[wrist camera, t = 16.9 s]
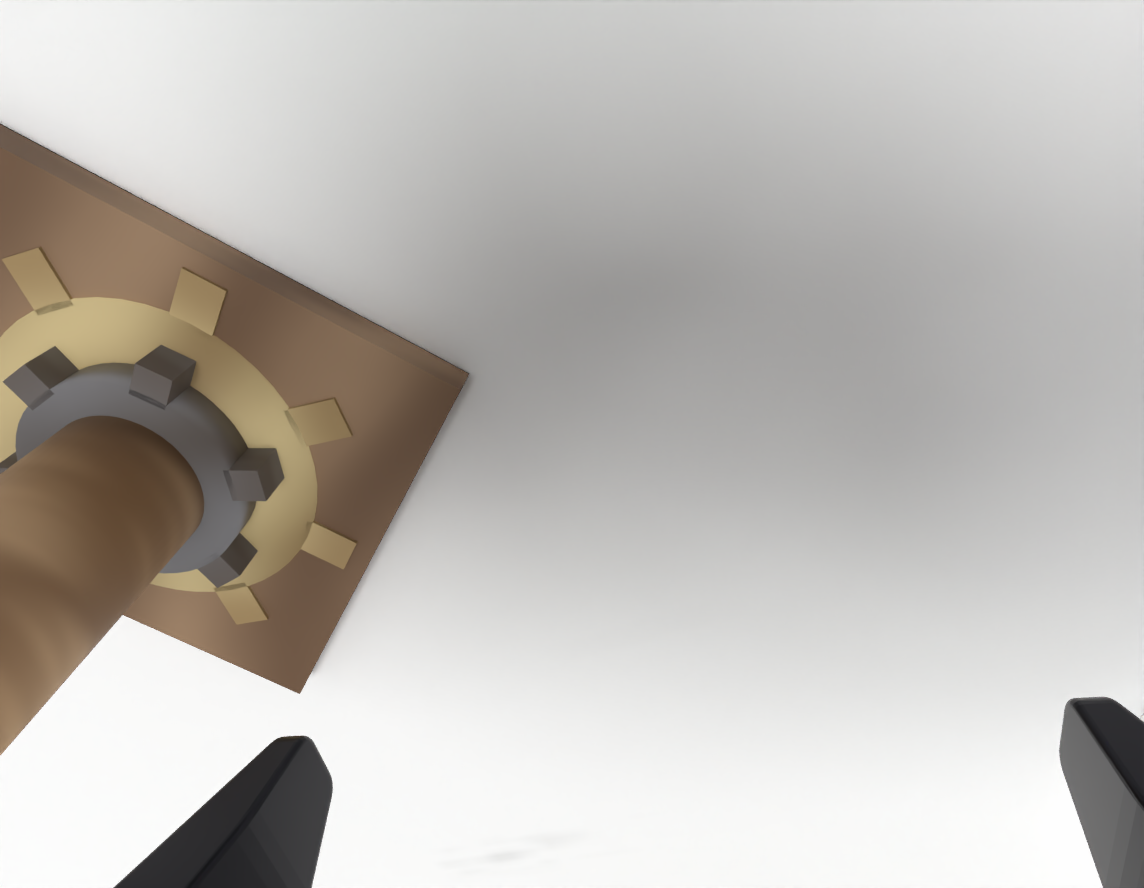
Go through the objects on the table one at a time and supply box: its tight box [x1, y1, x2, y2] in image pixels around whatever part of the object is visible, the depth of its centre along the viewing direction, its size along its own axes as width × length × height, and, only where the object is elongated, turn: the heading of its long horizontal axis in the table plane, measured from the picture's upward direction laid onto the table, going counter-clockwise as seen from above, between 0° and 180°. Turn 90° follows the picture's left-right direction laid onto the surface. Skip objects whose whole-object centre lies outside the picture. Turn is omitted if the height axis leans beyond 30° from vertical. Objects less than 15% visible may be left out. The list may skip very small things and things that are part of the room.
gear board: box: [0, 124, 469, 694], centre depth 24 cm, size 14×14×1 cm
